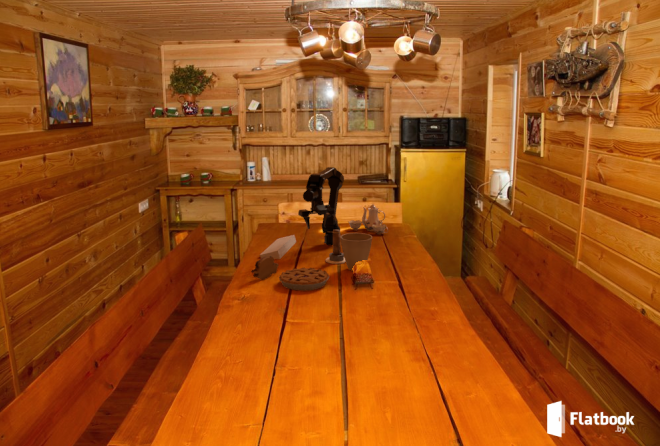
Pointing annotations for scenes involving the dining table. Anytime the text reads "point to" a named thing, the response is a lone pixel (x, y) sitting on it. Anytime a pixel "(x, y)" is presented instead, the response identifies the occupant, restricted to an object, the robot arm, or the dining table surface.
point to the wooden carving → (265, 268)
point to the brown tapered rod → (336, 242)
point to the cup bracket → (336, 259)
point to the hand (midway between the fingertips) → (317, 228)
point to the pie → (304, 278)
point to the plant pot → (355, 247)
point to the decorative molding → (279, 247)
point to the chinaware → (370, 221)
